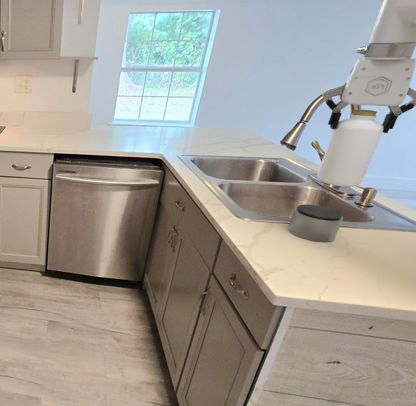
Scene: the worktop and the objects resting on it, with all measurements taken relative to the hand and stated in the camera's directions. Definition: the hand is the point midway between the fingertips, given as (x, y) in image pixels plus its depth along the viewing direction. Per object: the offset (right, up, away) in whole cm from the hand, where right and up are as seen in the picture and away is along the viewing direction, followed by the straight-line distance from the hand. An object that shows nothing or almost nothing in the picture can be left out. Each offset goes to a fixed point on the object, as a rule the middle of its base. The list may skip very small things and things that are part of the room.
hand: (357, 129), depth 88 cm
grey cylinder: (+2, -26, +15) cm, 30 cm away
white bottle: (0, -13, +5) cm, 14 cm away
